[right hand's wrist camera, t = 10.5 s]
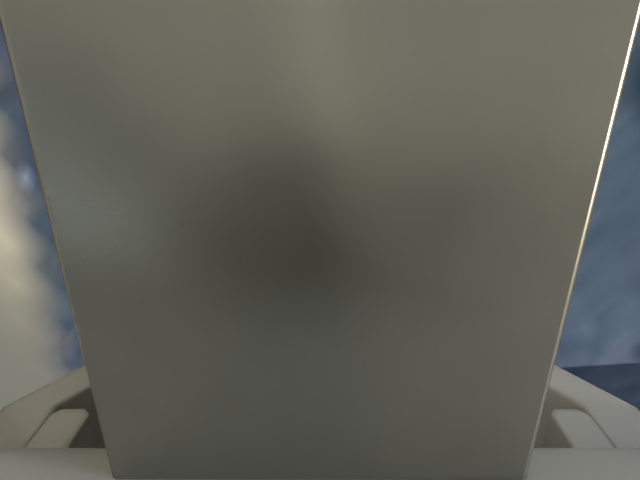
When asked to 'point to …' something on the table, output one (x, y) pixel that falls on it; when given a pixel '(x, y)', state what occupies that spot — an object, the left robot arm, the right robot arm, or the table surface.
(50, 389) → the right robot arm
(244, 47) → the bar
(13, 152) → the table surface
